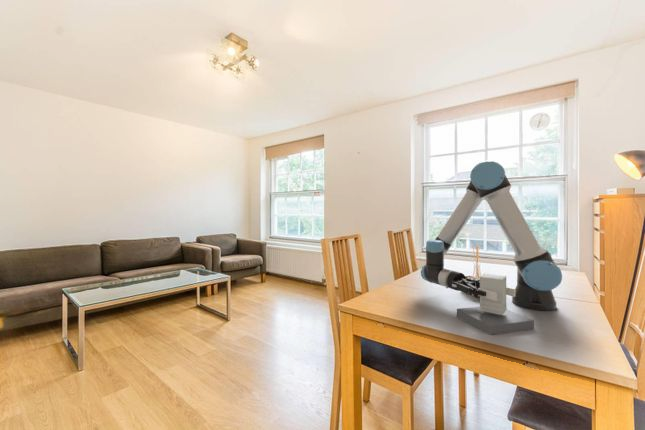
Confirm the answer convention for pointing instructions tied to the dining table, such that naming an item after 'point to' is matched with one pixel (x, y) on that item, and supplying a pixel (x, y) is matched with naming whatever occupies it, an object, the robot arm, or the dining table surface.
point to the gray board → (495, 320)
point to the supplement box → (496, 285)
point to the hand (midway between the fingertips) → (505, 294)
